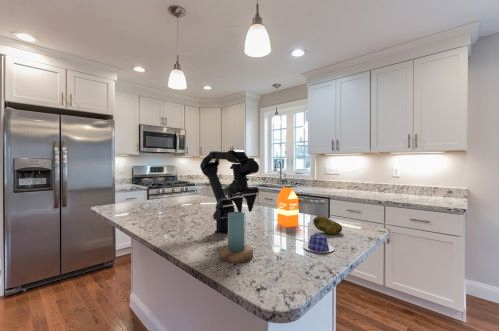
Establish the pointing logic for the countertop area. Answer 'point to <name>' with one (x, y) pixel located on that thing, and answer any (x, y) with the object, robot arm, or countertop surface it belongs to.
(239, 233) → the teal tapered cylinder
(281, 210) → the orange juice
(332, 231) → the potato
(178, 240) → the countertop surface
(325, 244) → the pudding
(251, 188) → the robot arm
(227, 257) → the base plate
